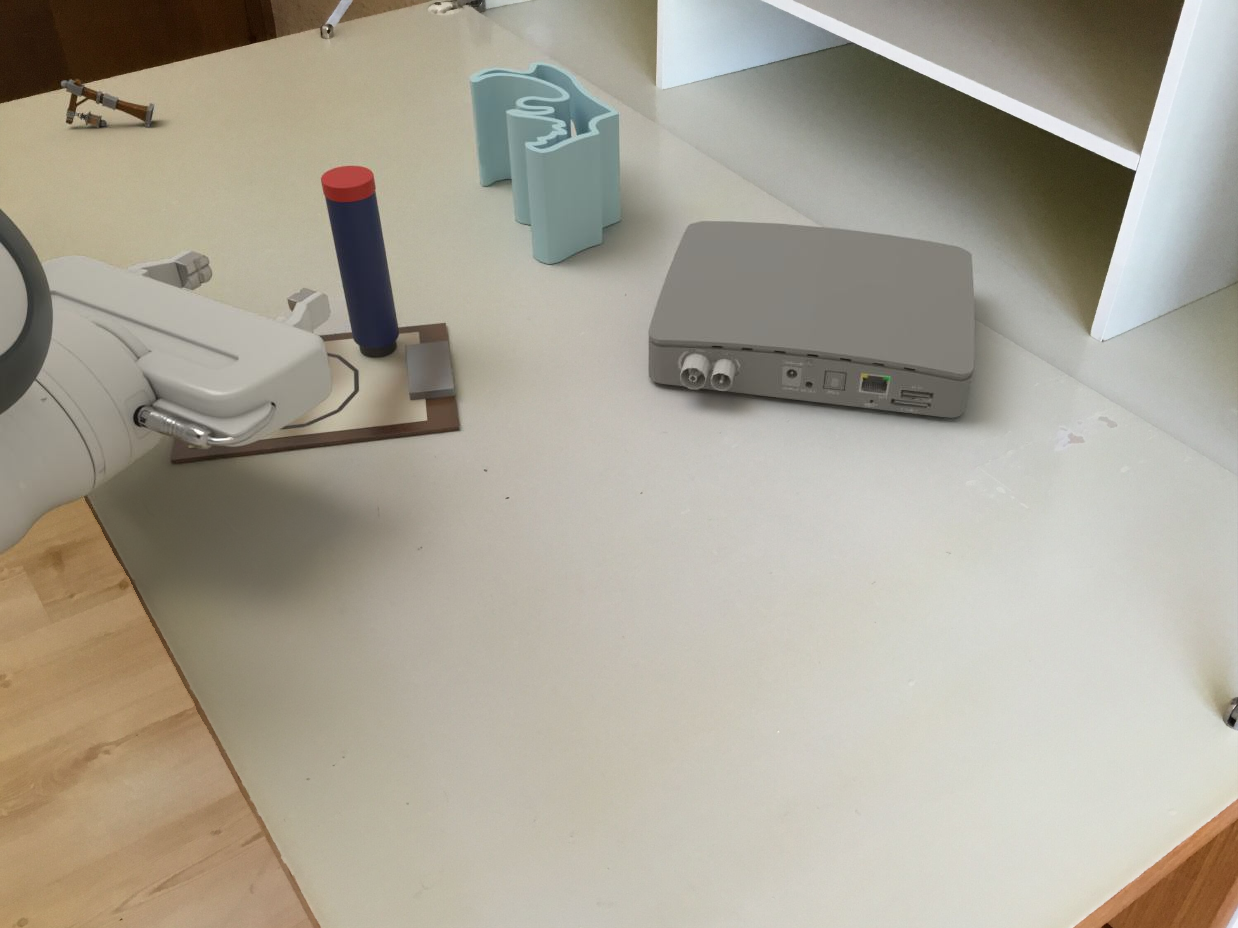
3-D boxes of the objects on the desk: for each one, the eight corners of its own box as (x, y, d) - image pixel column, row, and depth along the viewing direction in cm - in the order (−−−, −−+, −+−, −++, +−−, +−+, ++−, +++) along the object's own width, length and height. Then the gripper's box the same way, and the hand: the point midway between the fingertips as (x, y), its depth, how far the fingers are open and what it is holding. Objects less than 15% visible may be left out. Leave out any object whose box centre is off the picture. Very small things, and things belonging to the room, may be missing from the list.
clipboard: (171, 463, 72) (167, 452, 72) (191, 352, 82) (187, 340, 81) (459, 429, 75) (458, 418, 75) (446, 325, 85) (444, 314, 84)
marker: (346, 345, 82) (311, 174, 73) (387, 330, 84) (358, 160, 75) (368, 366, 80) (335, 192, 72) (410, 350, 82) (382, 178, 73)
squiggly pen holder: (649, 237, 96) (649, 128, 89) (543, 266, 92) (535, 154, 86) (553, 157, 107) (547, 56, 101) (455, 180, 103) (442, 76, 97)
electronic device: (963, 439, 75) (977, 376, 72) (640, 400, 78) (640, 338, 75) (962, 292, 89) (973, 234, 86) (688, 264, 92) (690, 206, 89)
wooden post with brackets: (58, 114, 111) (64, 71, 108) (147, 143, 114) (155, 101, 111) (53, 122, 109) (59, 78, 107) (143, 151, 112) (151, 108, 110)
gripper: (207, 404, 55) (388, 277, 64) (-76, 296, 62) (125, 196, 71) (237, 503, 59) (403, 371, 69) (-31, 392, 66) (153, 285, 75)
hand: (259, 281), depth 70 cm, fingers open, 8 cm apart
